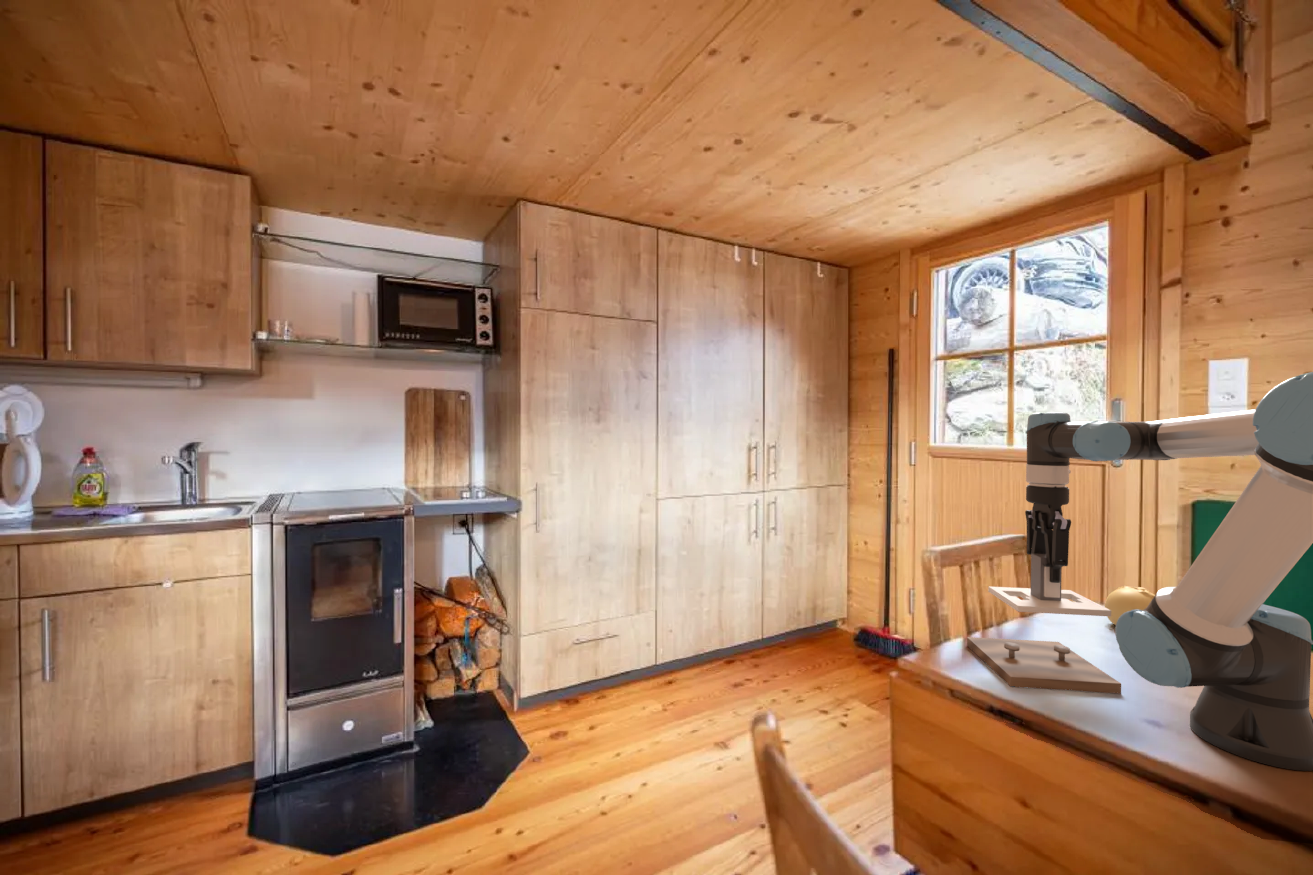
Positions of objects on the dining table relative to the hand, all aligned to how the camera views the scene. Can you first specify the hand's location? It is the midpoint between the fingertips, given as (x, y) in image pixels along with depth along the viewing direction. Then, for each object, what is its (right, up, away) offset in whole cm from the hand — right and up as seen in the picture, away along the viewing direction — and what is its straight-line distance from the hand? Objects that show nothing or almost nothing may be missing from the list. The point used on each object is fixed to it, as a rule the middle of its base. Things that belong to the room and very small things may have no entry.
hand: (1045, 593), depth 118 cm
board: (-1, -17, +2) cm, 17 cm away
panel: (0, -2, 0) cm, 2 cm away
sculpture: (+41, -16, +25) cm, 51 cm away
